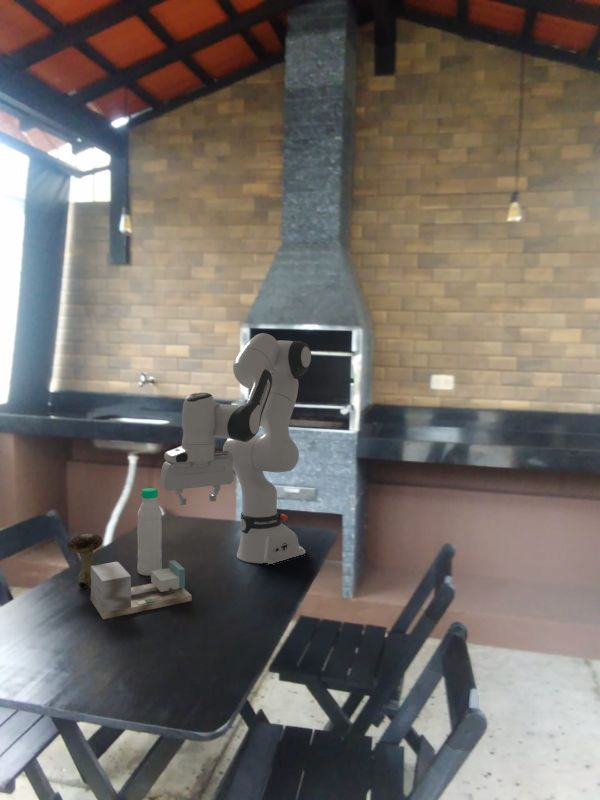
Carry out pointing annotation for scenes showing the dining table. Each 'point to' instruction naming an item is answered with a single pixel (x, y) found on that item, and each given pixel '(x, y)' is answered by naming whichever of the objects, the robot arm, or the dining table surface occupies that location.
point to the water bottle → (149, 533)
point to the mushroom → (85, 555)
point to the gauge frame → (127, 592)
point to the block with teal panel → (169, 577)
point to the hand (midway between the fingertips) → (197, 502)
